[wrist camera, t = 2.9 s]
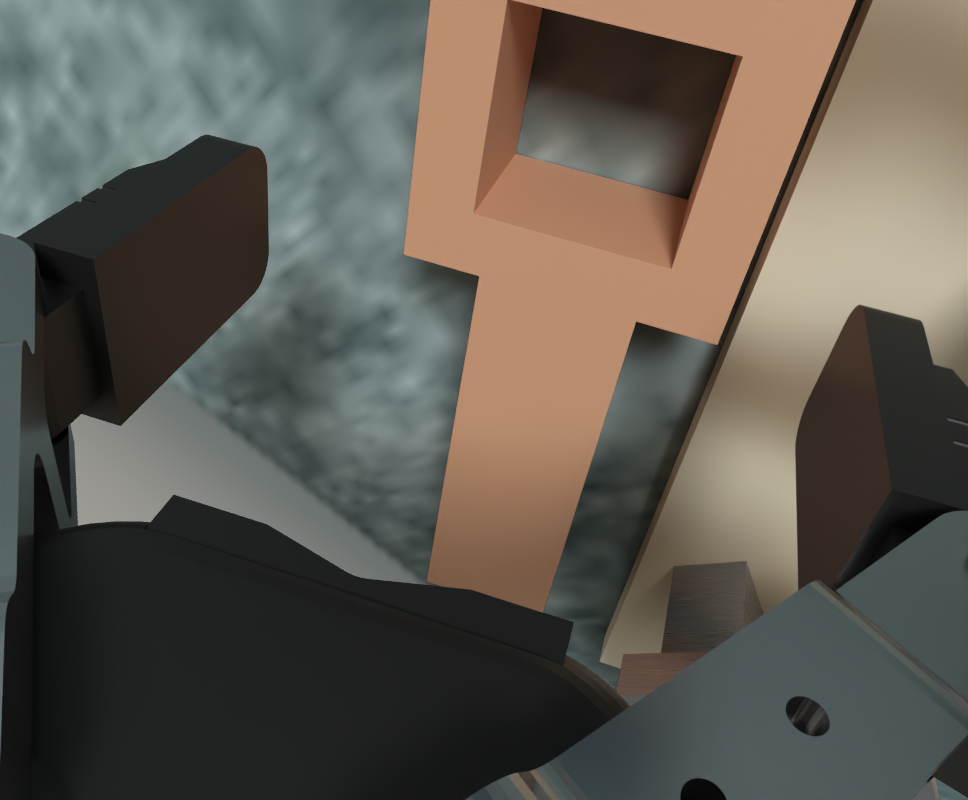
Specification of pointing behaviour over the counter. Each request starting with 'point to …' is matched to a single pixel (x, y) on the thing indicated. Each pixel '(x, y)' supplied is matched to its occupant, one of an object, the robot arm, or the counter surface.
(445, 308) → the counter surface
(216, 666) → the robot arm
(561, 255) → the link
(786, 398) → the board
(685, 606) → the block
